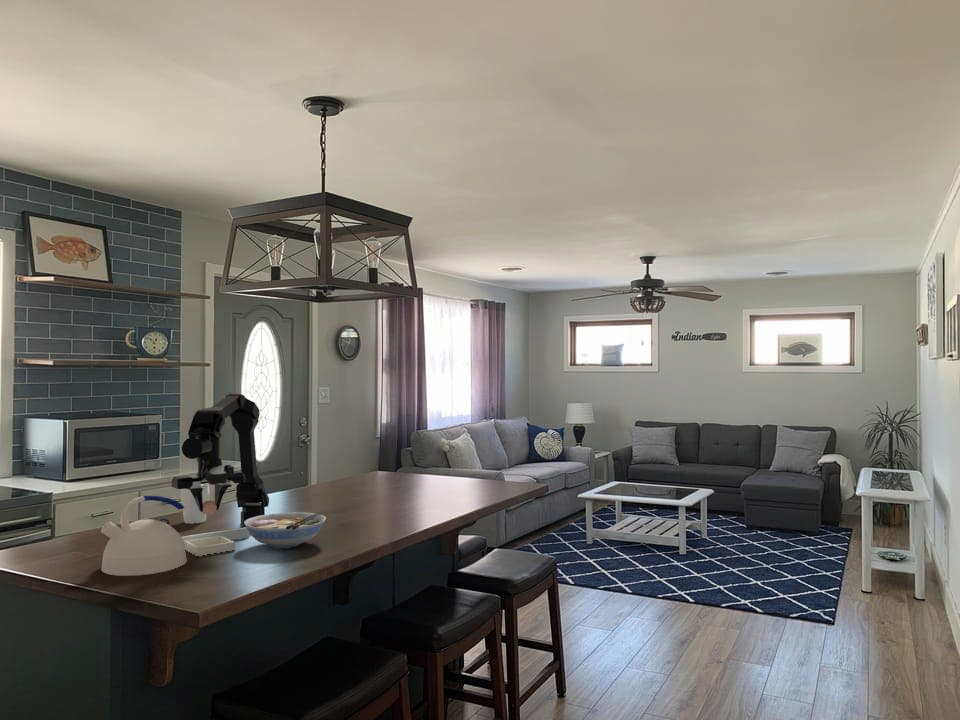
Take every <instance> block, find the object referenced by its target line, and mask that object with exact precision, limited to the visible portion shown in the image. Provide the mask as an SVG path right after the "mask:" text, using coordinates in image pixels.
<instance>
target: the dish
mask: <svg viewBox="0 0 960 720" xmlns="http://www.w3.org/2000/svg"><path fill="white" fill-rule="evenodd" d="M184 544H185V550H186V551H185V552H187V551H188V552H187V553H189V552H190V553H189V554H191V553H192V554H191V555H193V554H194V555H196V556H199V557H203V556H202V555H205V556H208V555H207V554H211V555H215V554H214V553H217V554H221V553H220V552H223V553H226V552H225V551H230V552H233V551H232V550H236V545H235V544H236V542H235V540H232V541H231V540H229V539H227V538H225V537H223V536H215V537H208V538H202V539H195V540H188V541H184ZM194 555H193V556H194ZM196 556H195V557H196Z"/></svg>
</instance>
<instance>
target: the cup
mask: <svg viewBox="0 0 960 720" xmlns="http://www.w3.org/2000/svg"><path fill="white" fill-rule="evenodd" d="M200 487H201V488H203V490H202V502H203V503H204V502H206V501H210V500H209V499H210V495H211V494H210V484H209V483H204V484H200ZM179 496H180V504H182V505H183V506H184V508H183V509H181V510H182V516H183V523H185V524H188V523H189V525H190V524H193V525H194V523H196V524H201V523H205V522H206V520H207V516H208V515H205V514H204V513H203V512H200V511H199V508H198V506H197V503H196V501H195V499H194V497H193V495H192V493H191V491H190V490H188V489H180V494H179Z"/></svg>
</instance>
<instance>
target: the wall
mask: <svg viewBox="0 0 960 720" xmlns="http://www.w3.org/2000/svg"><path fill="white" fill-rule="evenodd" d="M215 536H223V537H225V538H227V539H229V540H232V541H236V540H235V539H238V540H243V539H242V538H245V539H249V538H250V532H249V531H248V529H247V528H246V527H237V528H233V529H226V530H225V529H224V530H220V531H211V532H204V533H198V534H197V533H196V534H190V535H185V536H181V537H182V540H183V542H184V541H188V540H195V539H202V538H208V537H215Z"/></svg>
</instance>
